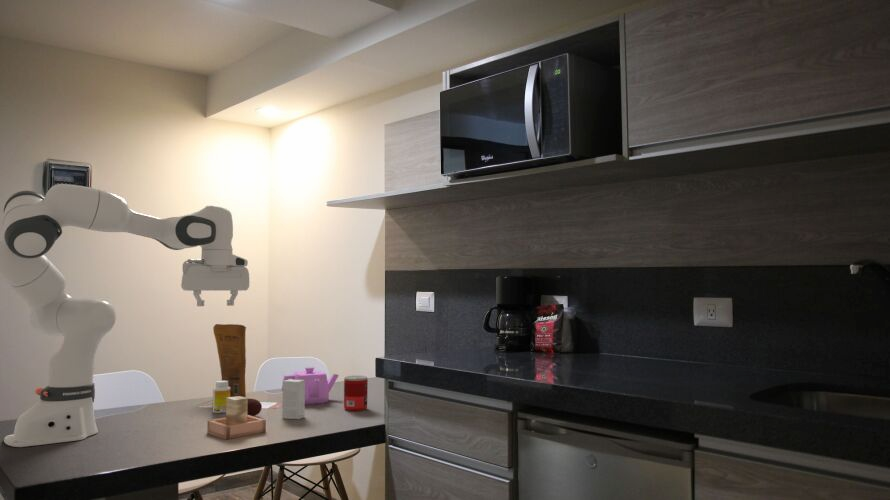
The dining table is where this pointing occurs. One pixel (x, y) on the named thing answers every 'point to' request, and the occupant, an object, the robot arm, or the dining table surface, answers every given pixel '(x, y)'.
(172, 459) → the dining table surface
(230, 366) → the pancake mix bag
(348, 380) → the canned food
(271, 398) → the dining table surface
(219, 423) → the tray
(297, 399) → the skincare box
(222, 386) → the supplement bottle
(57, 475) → the dining table surface
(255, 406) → the potato
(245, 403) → the beige tall rectangular block
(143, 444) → the dining table surface
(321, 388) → the teakettle
